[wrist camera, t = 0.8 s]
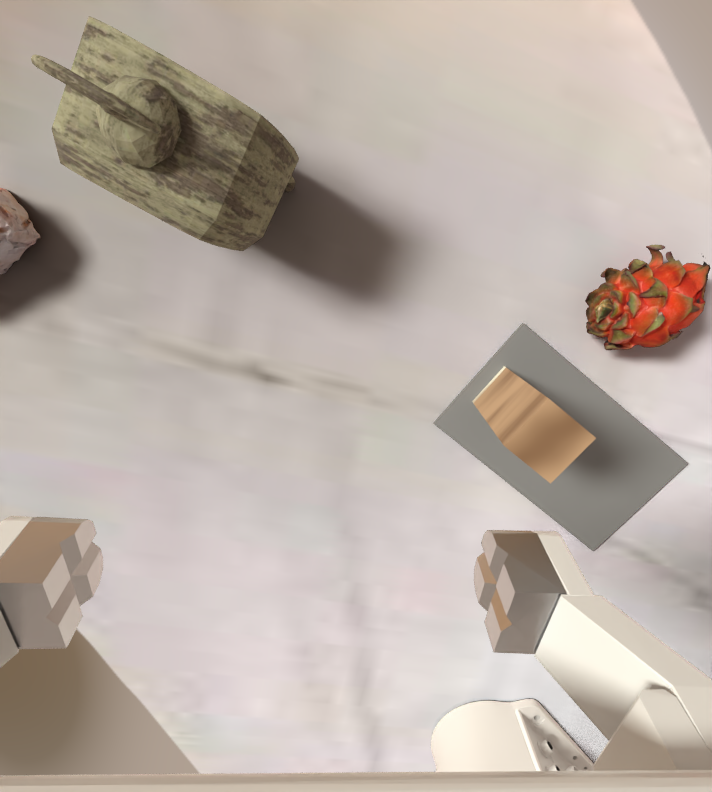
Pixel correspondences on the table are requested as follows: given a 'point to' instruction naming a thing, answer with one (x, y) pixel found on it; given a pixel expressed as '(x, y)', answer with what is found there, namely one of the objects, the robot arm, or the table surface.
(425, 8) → the table surface
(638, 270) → the dragon fruit
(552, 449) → the light brown wooden block
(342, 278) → the table surface
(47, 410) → the table surface
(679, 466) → the rubber mat
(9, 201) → the food item
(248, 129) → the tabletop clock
